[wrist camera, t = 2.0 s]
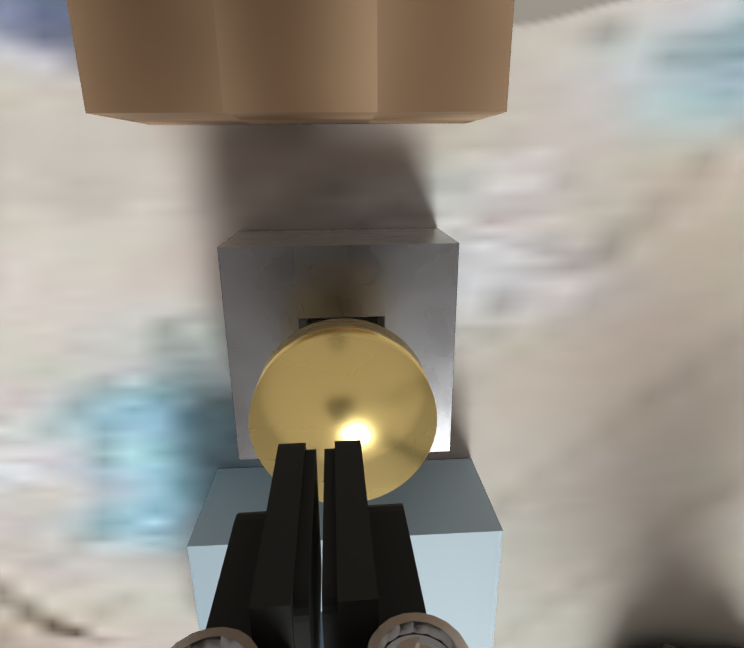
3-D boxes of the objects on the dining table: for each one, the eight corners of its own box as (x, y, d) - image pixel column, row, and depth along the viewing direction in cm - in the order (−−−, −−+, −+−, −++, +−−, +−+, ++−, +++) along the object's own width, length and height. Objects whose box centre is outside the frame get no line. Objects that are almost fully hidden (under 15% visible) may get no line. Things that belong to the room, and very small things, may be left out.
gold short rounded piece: (418, 295, 16) (440, 333, 13) (415, 431, 18) (434, 499, 14) (262, 298, 16) (240, 338, 12) (273, 436, 18) (256, 508, 14)
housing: (437, 227, 21) (459, 243, 17) (431, 403, 23) (449, 451, 19) (239, 231, 20) (217, 247, 17) (255, 409, 23) (239, 459, 19)
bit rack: (471, 458, 24) (503, 531, 20) (459, 646, 28) (484, 745, 23) (217, 469, 24) (186, 546, 19) (240, 660, 27) (219, 765, 23)
